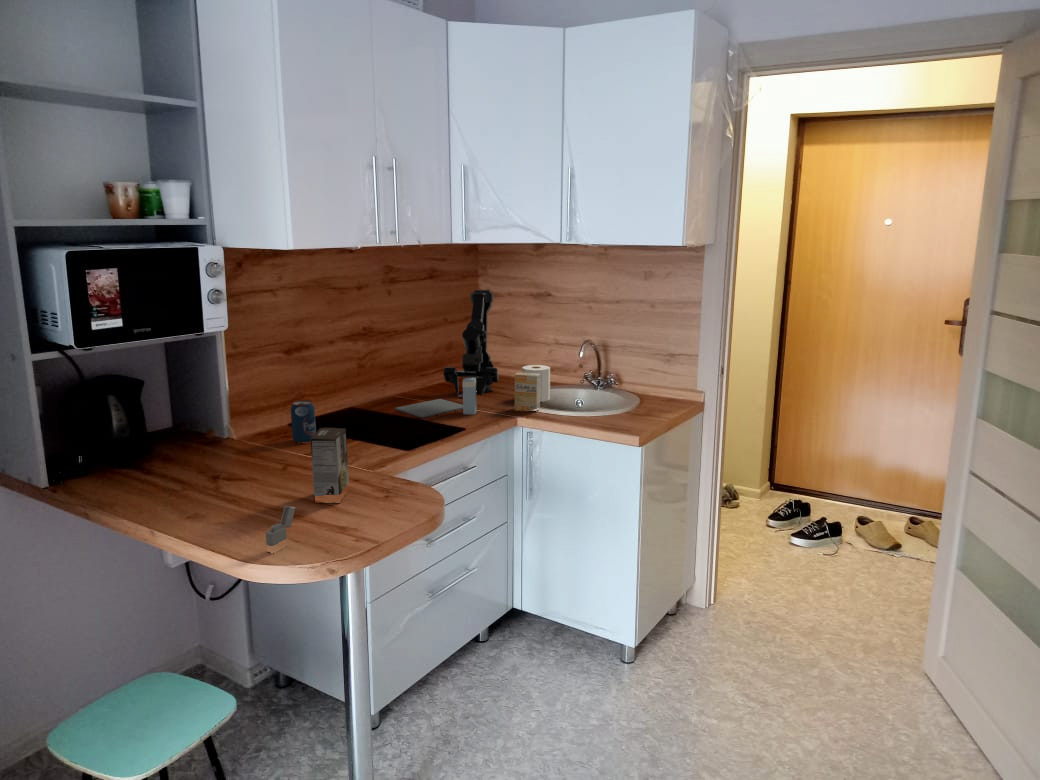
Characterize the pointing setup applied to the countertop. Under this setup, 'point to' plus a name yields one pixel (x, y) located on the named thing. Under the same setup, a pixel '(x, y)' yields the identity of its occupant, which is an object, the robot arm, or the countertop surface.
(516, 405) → the supplement box
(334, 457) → the coffee box
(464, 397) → the blue block
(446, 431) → the countertop surface
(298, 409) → the soda can
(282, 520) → the lighter
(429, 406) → the grey mat
